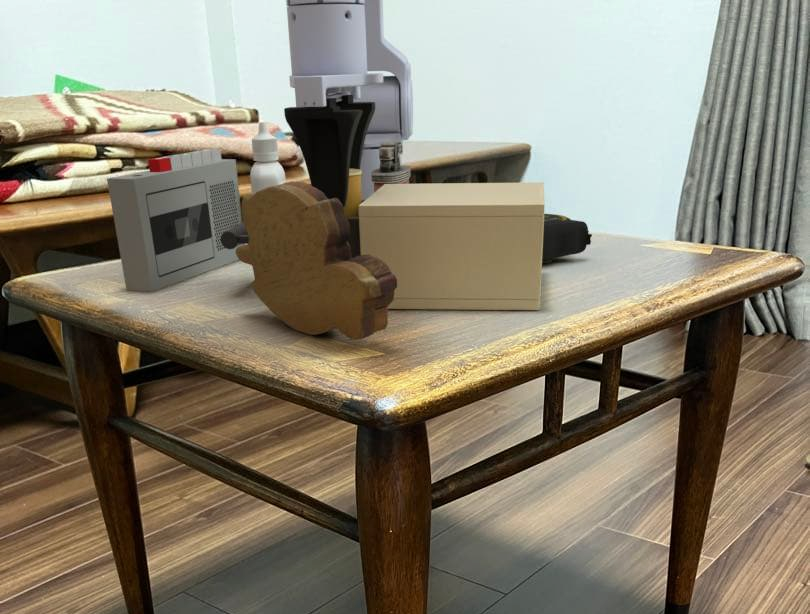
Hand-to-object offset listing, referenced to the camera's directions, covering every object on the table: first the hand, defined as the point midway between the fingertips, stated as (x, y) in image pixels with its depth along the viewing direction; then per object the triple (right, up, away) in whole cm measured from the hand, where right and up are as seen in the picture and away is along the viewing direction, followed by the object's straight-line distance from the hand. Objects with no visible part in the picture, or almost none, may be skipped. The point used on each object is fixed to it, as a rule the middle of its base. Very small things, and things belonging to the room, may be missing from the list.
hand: (337, 203), depth 71 cm
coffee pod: (0, -1, +1) cm, 1 cm away
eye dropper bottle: (-8, +2, +19) cm, 21 cm away
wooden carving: (-1, -12, -8) cm, 14 cm away
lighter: (+4, +3, +19) cm, 20 cm away
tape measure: (+19, -1, +12) cm, 22 cm away
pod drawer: (0, -5, +3) cm, 6 cm away
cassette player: (-15, -2, +11) cm, 19 cm away
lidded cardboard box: (+10, -6, +2) cm, 12 cm away
